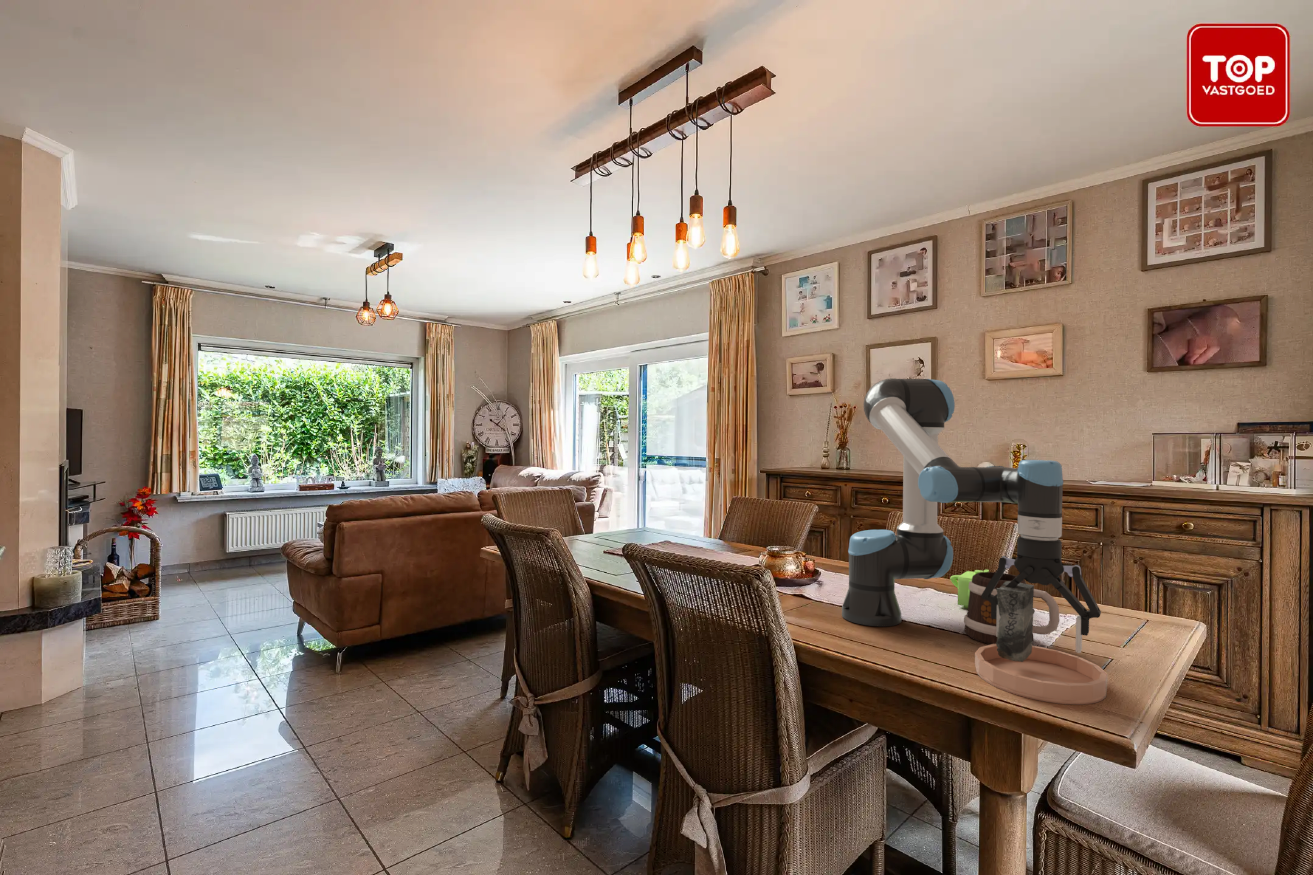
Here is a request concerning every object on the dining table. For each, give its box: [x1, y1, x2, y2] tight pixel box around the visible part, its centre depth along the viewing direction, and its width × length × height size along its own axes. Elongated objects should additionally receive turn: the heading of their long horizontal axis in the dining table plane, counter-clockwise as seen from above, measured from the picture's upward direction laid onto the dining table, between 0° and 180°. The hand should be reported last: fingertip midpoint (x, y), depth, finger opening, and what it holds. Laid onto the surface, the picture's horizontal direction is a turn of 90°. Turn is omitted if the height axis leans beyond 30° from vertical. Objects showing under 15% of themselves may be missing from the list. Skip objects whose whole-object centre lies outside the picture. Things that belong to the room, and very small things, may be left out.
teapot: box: [949, 569, 990, 609], centre depth 173 cm, size 15×13×11 cm
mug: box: [963, 571, 1060, 645], centre depth 145 cm, size 20×15×15 cm
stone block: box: [996, 581, 1035, 662], centre depth 123 cm, size 9×14×5 cm
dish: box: [974, 644, 1108, 706], centre depth 121 cm, size 22×22×4 cm
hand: (1037, 642), depth 121 cm, fingers open, 13 cm apart
